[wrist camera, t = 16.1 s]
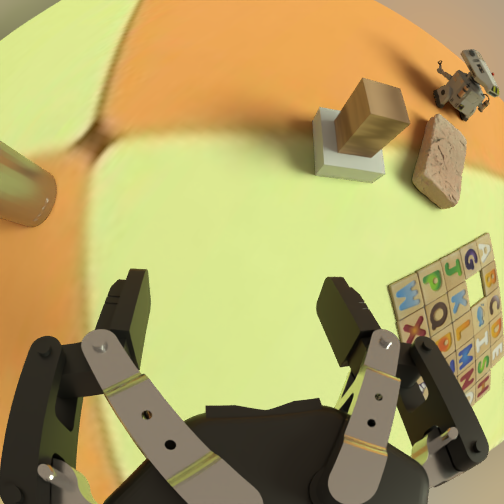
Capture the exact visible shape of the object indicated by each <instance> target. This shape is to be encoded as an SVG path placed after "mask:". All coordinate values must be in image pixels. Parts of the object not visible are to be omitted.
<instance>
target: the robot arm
mask: <svg viewBox="0 0 504 504" xmlns="http://www.w3.org/2000/svg"><path fill="white" fill-rule="evenodd" d="M55 198H56V183H55V180H54V178H53V176H52V175H51V174H50V173H49V172H47V171H46V170H44V169H42V168H41V167H39V166H38V165H36V164H35V163H33V162H32V161H30V160H29V159H27V158H26V157H24V156H23V155H21V154H20V153H18V152H17V151H15V150H14V149H12V148H11V147H9V146H8V145H6V144H5V143H3V142H2V141H0V218H2V219H5V220H8V221H12V222H15V223H18V224H21V225H25V226H28V227H34V226H37V225H39V224H41V223H42V222H43V221H44V220H45V219H46V218H47V216H48V215H49V214H50V212H51V210H52V208H53V205H54V202H55ZM150 305H151V298H150V288H149V277H148V270H147V269H130V270H129V273H128V276H127V278H126V280H120V279H118V280H117V281H116V282H115V283H114V284H113V285H112V286H111V288H110V291H109V293H108V297H107V298H106V301H105V304H104V306H103V309H102V311H101V314H100V317H99V319H98V322H97V325H96V328H95V330H94V331H91V332H89V333H88V334H87V335H86V336H85V337H84V338H83V340H82V342H79V343H74V344H67V345H61V344H60V342H59V341H58V340H57V339H56V338H54V337H52V336H44V337H41V338H38V339H37V340H36V341H34V343H33V344H32V345H31V347H30V350H29V352H28V355H27V358H26V361H25V363H24V366H23V369H22V372H21V375H20V378H19V382H18V385H17V388H16V392H15V395H14V399H13V403H12V406H11V410H10V415H9V419H8V424H7V428H6V433H5V439H4V445H3V451H2V458H1V466H0V497H1V499H2V501H3V503H4V504H98V503H97V502H96V501H95V500H94V499H93V497H92V495H91V492H90V486H89V483H88V481H87V479H86V478H85V477H84V475H83V474H81V473H80V472H79V471H77V470H76V455H77V443H78V433H79V424H80V416H81V409H82V402H83V397H85V396H93V395H99V394H104V395H105V397H106V399H107V401H108V402H109V404H110V406H111V407H112V409H113V411H114V412H115V414H116V415H117V417H118V419H119V420H120V422H121V423H122V425H123V426H124V428H125V429H126V431H127V432H128V434H129V435H130V437H131V438H132V440H133V441H134V442H135V444H136V445H137V447H138V448H139V449H140V451H141V452H142V453H143V455H144V456H145V457H146V460H145V461H144V462H143V463H142V464H141V465H140V466H139V467H138V468H137V469H136V470H135V471H134V472H133V473H132V474H131V475H130V476H129V477H128V478H127V479H126V480H125V481H124V482H123V483H122V484H121V485H120V486H119V487H118V488H117V489H116V490H115V491H114V492H113V493H112V494H111V495H110V496H109V497H108V498H107V499H106V500H105V501H104V503H103V504H427V502H428V493H429V489H430V488H432V487H437V486H439V485H441V484H443V483H445V482H447V481H449V480H451V479H453V478H455V477H457V476H458V475H460V474H462V473H464V472H466V471H467V470H469V469H471V468H473V467H474V466H476V465H478V464H479V463H481V462H482V461H484V460H485V459H486V457H487V455H488V451H489V445H488V442H487V439H486V437H485V435H484V432H483V430H482V428H481V426H480V424H479V421H478V419H477V417H476V415H475V413H474V411H473V409H472V407H471V405H470V403H469V401H468V399H467V397H466V395H465V393H464V391H463V390H462V388H461V386H460V384H459V382H458V380H457V379H456V377H455V375H454V373H453V371H452V370H451V368H450V366H449V364H448V363H447V361H446V359H445V358H444V356H443V354H442V353H441V351H440V349H439V348H438V346H437V345H436V343H435V342H434V341H433V340H432V339H430V338H428V337H426V336H419V337H417V338H416V339H415V341H414V342H413V344H410V343H404V342H400V341H399V339H398V338H397V336H396V335H394V334H393V333H392V332H390V331H388V330H384V329H381V328H380V326H379V324H378V323H377V321H376V320H375V318H374V316H373V315H372V313H371V311H370V310H369V309H368V307H367V305H366V304H365V303H364V300H363V299H362V297H361V296H360V294H359V293H358V292H356V291H355V290H354V289H353V288H352V287H349V286H348V284H347V282H346V281H345V279H344V278H343V277H327V278H326V279H325V281H324V284H323V287H322V290H321V292H320V295H319V298H318V301H317V305H316V310H317V315H318V317H319V319H320V322H321V324H322V326H323V329H324V331H325V333H326V335H327V338H328V340H329V342H330V345H331V347H332V349H333V352H334V354H335V357H336V359H337V361H338V364H339V366H340V367H345V366H350V368H351V370H350V371H349V373H348V375H347V378H346V381H345V383H344V386H343V389H342V391H341V394H340V396H339V399H338V401H337V403H336V405H335V407H334V408H332V407H328V406H323V405H321V402H320V399H319V398H316V399H308V400H300V401H293V402H290V403H287V404H285V405H282V406H279V407H276V408H273V409H270V410H260V409H253V408H247V407H242V406H236V405H230V406H206V413H203V414H199V415H196V416H193V417H191V418H189V419H187V420H185V421H183V420H182V419H181V418H180V417H179V416H178V415H177V413H176V412H175V411H174V410H173V409H172V407H171V406H170V405H169V404H168V402H167V401H166V400H165V399H164V398H163V396H162V395H161V394H160V392H159V391H158V390H157V389H156V387H155V386H154V385H153V383H152V382H151V381H150V379H149V378H148V377H147V376H146V375H145V374H141V373H140V372H139V370H140V364H141V358H142V352H143V346H144V340H145V334H146V329H147V324H148V318H149V313H150ZM420 377H422V379H423V381H424V383H425V385H426V387H427V389H428V397H427V399H426V400H425V398H424V396H423V394H422V392H421V389H420V387H419V385H418V383H417V380H418V379H419V378H420ZM396 405H397V408H398V410H399V413H400V415H401V418H402V421H403V423H404V426H405V428H406V431H407V434H408V436H409V439H410V442H411V444H412V447H413V448H412V452H411V453H412V455H411V456H408V455H406V454H405V453H403V452H402V451H400V450H399V449H397V448H396V447H394V446H392V445H391V444H389V443H388V439H389V435H390V431H391V427H392V423H393V419H394V414H395V410H396Z"/></svg>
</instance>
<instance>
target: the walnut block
mask: <svg viewBox="0 0 504 504" xmlns="http://www.w3.org/2000/svg"><path fill="white" fill-rule="evenodd" d="M409 124H410V121H409V117H408V114H407V110H406V106H405V103H404V100H403V96H402V93H401V90H400V89H399V88H396V87H393V86H390V85H387V84H383V83H380V82H376V81H373V80H369V79H365V78H362V79H361V81H360V82H359V84H358V85H357V87H356V88H355V90H354V92H353V93H352V95H351V96H350V98H349V99H348V101H347V102H346V104H345V105H344V107H343V108H342V110H341V111H340V113H339V114H338V116H337V117H336V119H335V120H334V125H335V133H336V142H337V151H338V153H342V154H349V155H355V156H361V157H367V158H372V157H373V156H374V155H375V154H376V153H378V152H379V151H380V150H381V149H382V148H383V147H384V146H386V145H387V144H388V143H389V142H390V141H391V140H392V139H394V138H395V137H396V136H397V135H398V134H399V133H400V132H402V131H403V130H404V129H405V128H406V127H407V126H408V125H409Z"/></svg>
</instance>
